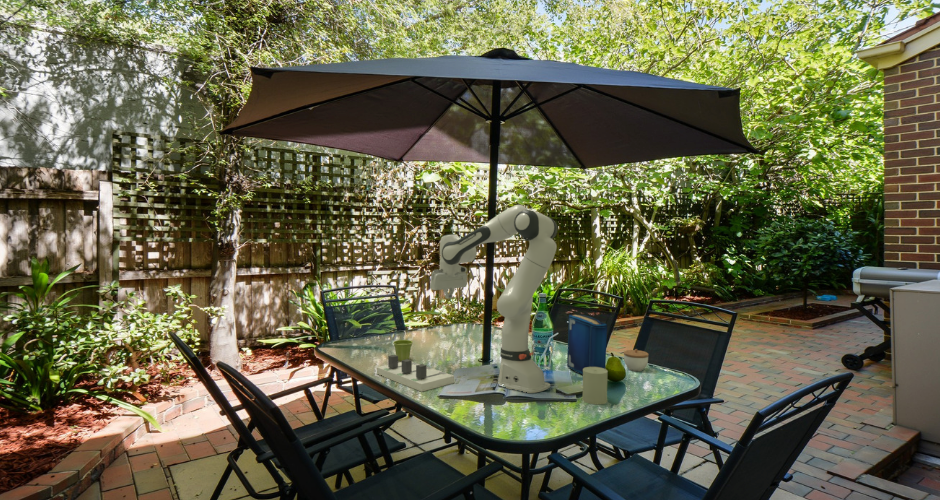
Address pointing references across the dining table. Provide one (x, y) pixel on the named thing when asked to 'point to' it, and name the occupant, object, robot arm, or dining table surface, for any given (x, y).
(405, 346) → the plant pot
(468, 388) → the dining table surface
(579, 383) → the dining table surface
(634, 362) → the lidded jar
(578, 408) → the dining table surface
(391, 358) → the switch
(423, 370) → the switch
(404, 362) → the middle switch
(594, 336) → the book
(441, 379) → the switch panel
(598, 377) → the can
